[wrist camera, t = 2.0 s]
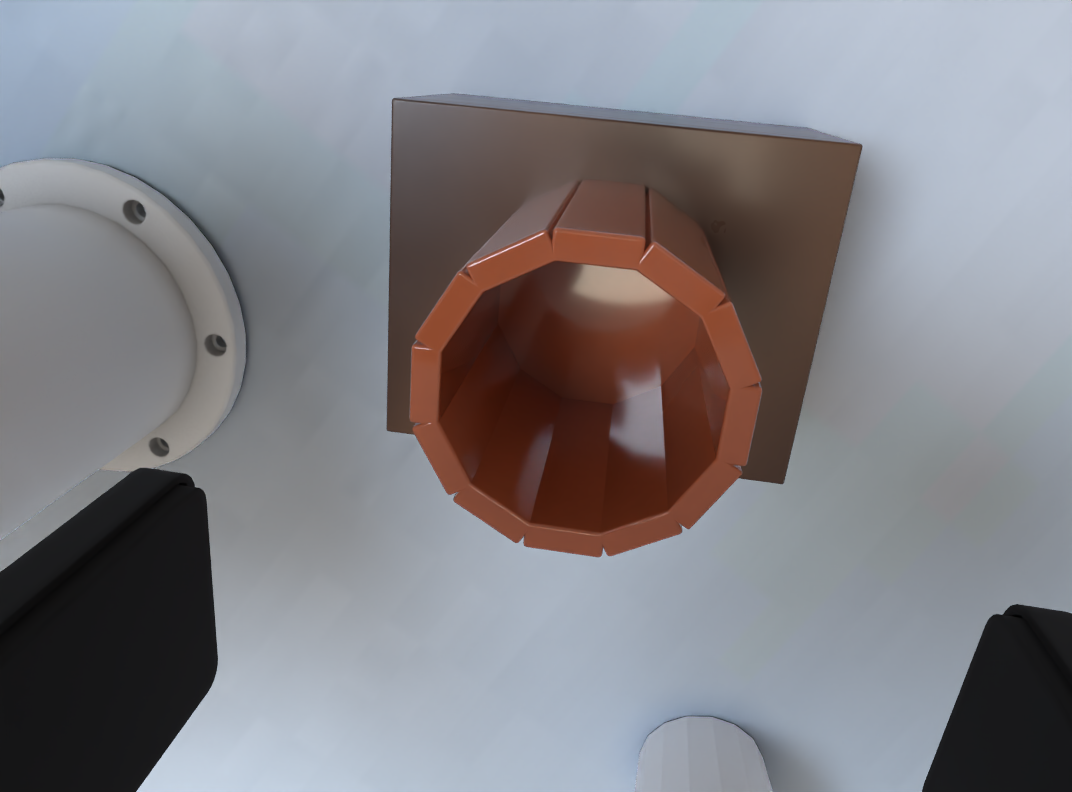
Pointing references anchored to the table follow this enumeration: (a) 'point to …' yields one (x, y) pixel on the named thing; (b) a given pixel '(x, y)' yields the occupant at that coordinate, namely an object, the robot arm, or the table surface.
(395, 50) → the table surface
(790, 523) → the table surface
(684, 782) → the white short cylinder
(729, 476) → the cup
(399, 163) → the shelf
